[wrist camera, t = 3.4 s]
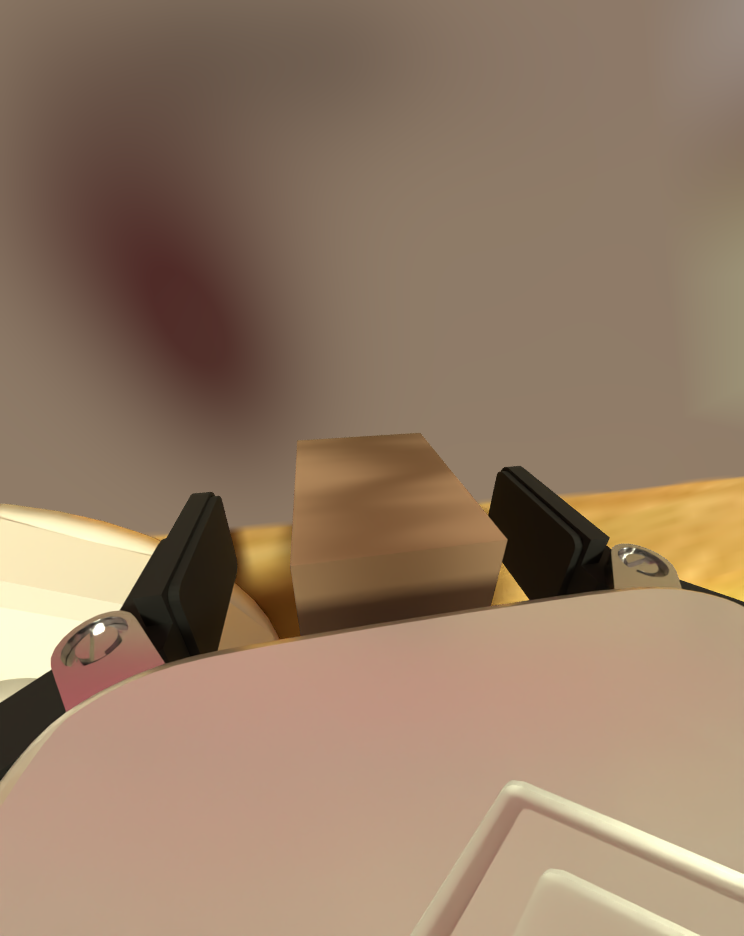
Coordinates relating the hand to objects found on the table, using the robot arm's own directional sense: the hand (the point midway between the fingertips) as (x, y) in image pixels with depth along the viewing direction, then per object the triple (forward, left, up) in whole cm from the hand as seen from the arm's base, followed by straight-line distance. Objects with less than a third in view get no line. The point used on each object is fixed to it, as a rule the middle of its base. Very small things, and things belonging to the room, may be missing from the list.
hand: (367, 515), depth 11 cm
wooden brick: (0, 0, -2) cm, 2 cm away
